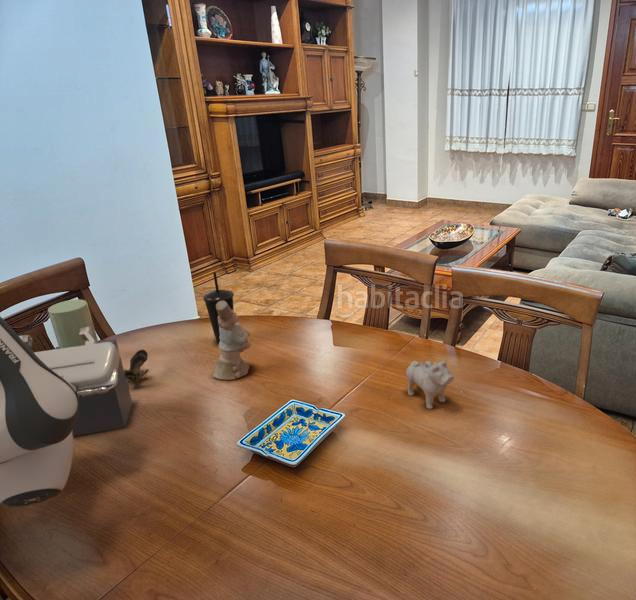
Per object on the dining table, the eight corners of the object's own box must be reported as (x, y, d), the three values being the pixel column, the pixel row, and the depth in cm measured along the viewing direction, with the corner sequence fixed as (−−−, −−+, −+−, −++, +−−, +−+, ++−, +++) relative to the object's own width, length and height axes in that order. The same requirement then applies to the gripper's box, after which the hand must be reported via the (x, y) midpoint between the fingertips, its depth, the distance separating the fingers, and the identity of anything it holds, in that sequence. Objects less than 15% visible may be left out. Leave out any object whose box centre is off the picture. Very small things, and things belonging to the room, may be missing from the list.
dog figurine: (441, 418, 105) (442, 373, 101) (402, 391, 115) (401, 349, 110) (459, 408, 108) (461, 364, 104) (420, 383, 118) (420, 342, 113)
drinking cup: (210, 350, 135) (197, 279, 127) (212, 337, 142) (200, 269, 134) (240, 346, 137) (229, 275, 129) (240, 333, 144) (230, 266, 136)
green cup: (53, 302, 99) (67, 347, 103) (43, 314, 93) (58, 362, 97) (90, 297, 101) (102, 342, 105) (82, 309, 95) (95, 357, 99)
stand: (64, 438, 102) (41, 368, 95) (76, 413, 110) (55, 346, 103) (125, 427, 104) (106, 358, 98) (132, 403, 112) (115, 338, 106)
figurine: (231, 385, 118) (218, 306, 111) (207, 376, 122) (193, 299, 115) (260, 369, 125) (249, 293, 118) (236, 360, 129) (224, 287, 122)
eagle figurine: (161, 378, 120) (156, 356, 126) (137, 362, 115) (133, 340, 122) (134, 399, 119) (131, 376, 126) (110, 384, 114) (107, 361, 121)
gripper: (111, 381, 83) (116, 313, 91) (-38, 404, 77) (-19, 331, 85) (122, 399, 88) (126, 334, 96) (-17, 422, 82) (-1, 351, 90)
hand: (56, 332), depth 91 cm, fingers open, 8 cm apart
